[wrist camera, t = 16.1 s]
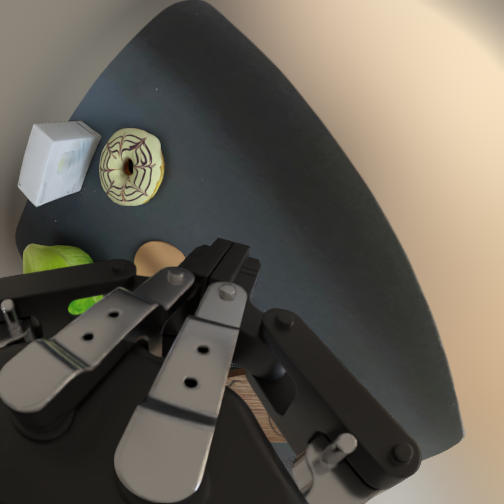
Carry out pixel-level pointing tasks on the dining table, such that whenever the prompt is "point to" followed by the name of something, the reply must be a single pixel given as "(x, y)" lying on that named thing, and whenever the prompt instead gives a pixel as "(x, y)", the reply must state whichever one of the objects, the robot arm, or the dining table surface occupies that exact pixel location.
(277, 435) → the trivet
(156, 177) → the decorated donut
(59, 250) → the lettuce
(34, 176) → the cosmetics box
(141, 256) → the cork coaster
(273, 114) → the dining table surface
